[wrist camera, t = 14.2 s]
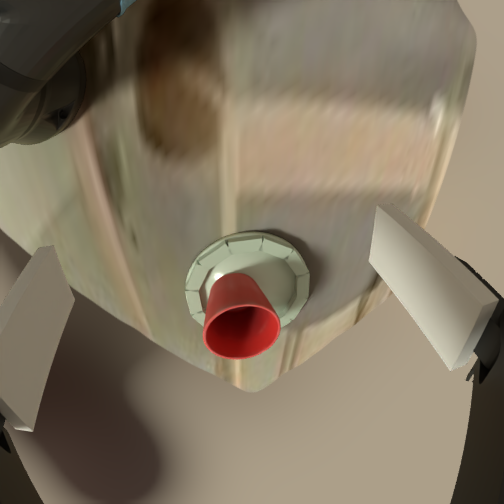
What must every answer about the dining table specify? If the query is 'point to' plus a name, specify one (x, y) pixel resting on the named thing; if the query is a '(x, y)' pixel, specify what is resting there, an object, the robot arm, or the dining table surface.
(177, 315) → the dining table surface
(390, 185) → the dining table surface
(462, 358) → the robot arm
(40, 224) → the dining table surface
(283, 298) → the round tray
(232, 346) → the flower pot
